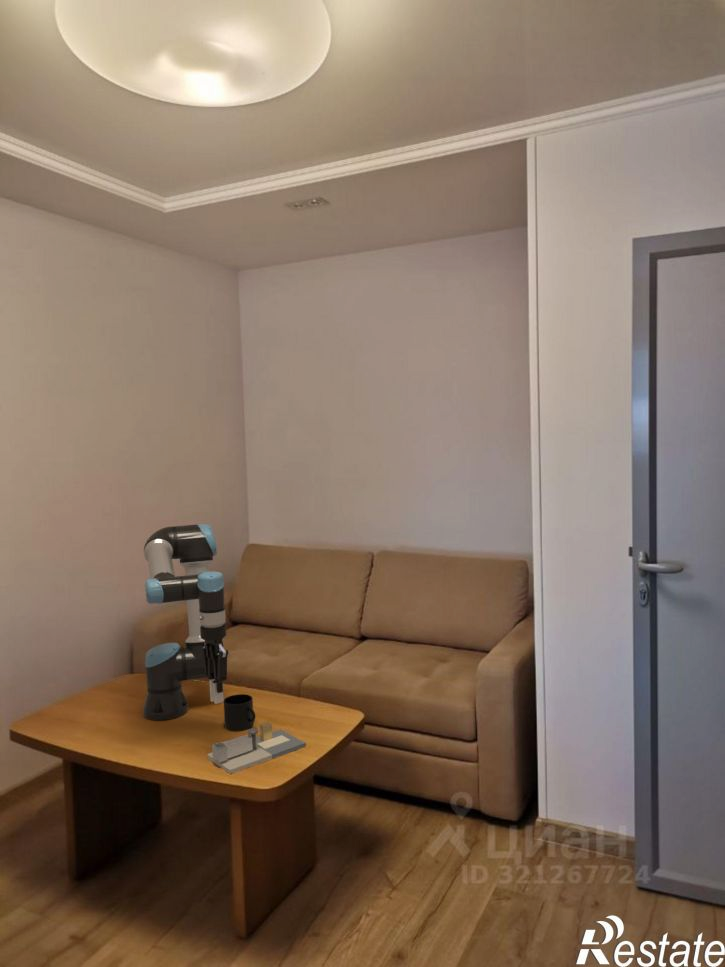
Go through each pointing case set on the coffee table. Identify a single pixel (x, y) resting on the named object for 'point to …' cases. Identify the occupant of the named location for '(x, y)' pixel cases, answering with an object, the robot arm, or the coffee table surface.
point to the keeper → (265, 731)
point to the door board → (261, 751)
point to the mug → (238, 712)
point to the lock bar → (231, 748)
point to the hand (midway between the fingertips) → (217, 701)
